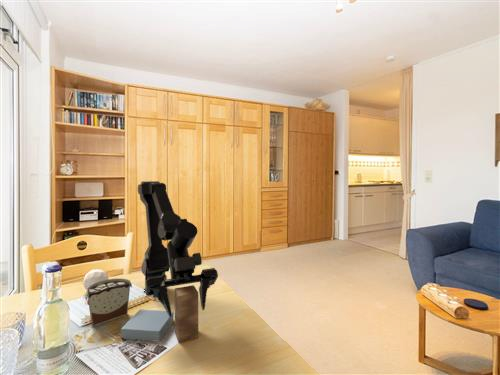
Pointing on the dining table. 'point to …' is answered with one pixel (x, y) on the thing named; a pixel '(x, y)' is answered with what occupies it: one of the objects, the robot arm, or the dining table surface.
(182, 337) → the walnut block
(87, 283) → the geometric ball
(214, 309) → the dining table surface
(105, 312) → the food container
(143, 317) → the slate-blue block
